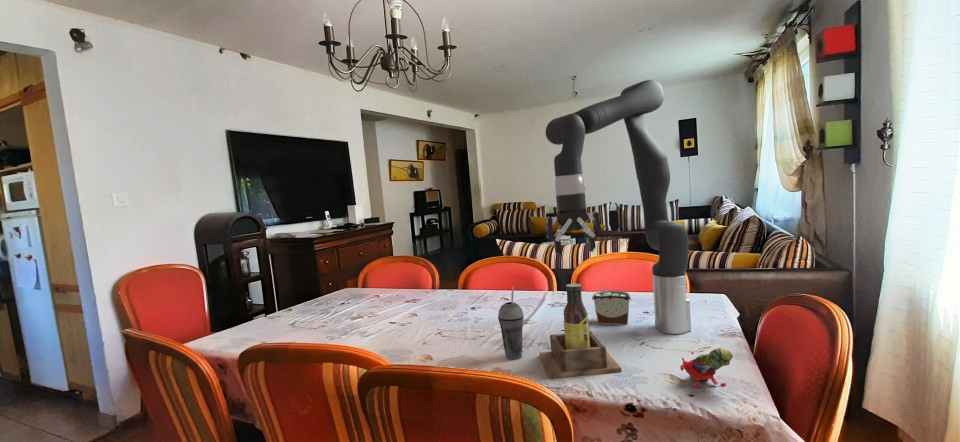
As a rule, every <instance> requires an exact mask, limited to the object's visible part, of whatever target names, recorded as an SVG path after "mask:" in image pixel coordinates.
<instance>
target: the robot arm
mask: <svg viewBox="0 0 960 442" xmlns="http://www.w3.org/2000/svg"><path fill="white" fill-rule="evenodd" d="M664 93H665V92H664V89H663V87H662V85H661V83H659V82H658V81H656V80H653V79H646V80H642V81H640V82H637V83H634V84H632V85H630V86H627V87H625V88H624V89H623V90H621V93H620V95H618V96H615V97H612V98H609V99H606V100H602V101H599V102H595V103H593V104H591V105H588V106H585V107H583V108H581V109H578V110H577V111H575V112H572V113H568V114H566V115H561V116H559V117H557V118H553V119H552V120H550V121H549V122H548V124H547V126H546V127H545V138H546V139H547V141H548V142H550V143H551V144H553V145H559V146H560V145H561V146H562V147H561V151H560V152H559V153H558V154H556V155H555V156H554V159H553V166H554V168H553V169H554V176H555V179H554V191H555V199H556V200H555V202H556V211H557V214H556V216H551V217H550V216H547V217H545V232H546V236H545V238H546V239H548V240H550V241H553V242H554V243H553V244H554V251H555V254H557V255H558V256H563V253H562V252H563V251H562V241H561V238H562V237H563V235H565V233H566V232H573V231H581V230H582V231H583V232H584V233H585V234H586V235H587V236H588V237H587V248H588V251H589V252H590V253H592V252H593V253H594V250H596V239H595V237H596V236H598V235H601V234H602V227H601V226H602V225H601V219H600V213H599V212H598V211H592V212H590V213H589V212H588V211H587V201H586V192H585V191H586V187H585V181H584V177H583V167H582V166H583V164H582V155H583V150H584V143H585V137H586V135H589V134H592V133H595V132H596V131H597V132H598V131H599V130H602V129H604V128H606V127H609V126H610V125H613V124H615V123H617V122H619V121H621V120H623V121H624V124H625V129H626V131H627V134H628V138H629V143H630V147H631V151H632V157H633V162H634V169H635V173H636V174H635V175H636V179H637V183H638V186H639V187H638V188H639V194H640V199H641V204H642V209H643V210H642V211H643V221H644V233H645V239H646V242H647V243H648V246H650V248H652V250H655V251H658V262H657V263H654V264H653V265H652V268H651V269H652V270H651V271H652V289H653V306H654V307H653V308H654V310H653V311H654V328H655V330H656V331H657V332H660V333H663V334H669V335H670V334H671V335H681V334H686V333H687V332H691V331H692V322H691V321H692V319H691V318H692V317H691V300H690V299H688V298H687V297H688V296H687V275H686V273H687V272H686V270H687V267H688V265H689V235H688V232H687V230H686V228H685V226H683V225H682V224H680V223H679V222H675V221H674V222H672V221H670V219H669V216H668V212H667V205H666V204H667V203H666V202H667V196H668V192H669V188H670V184H671V172H670V166H669V161H668V156H667V154H666V152H665V151H664V149H663V147H661V145H660V144H659V142H657V141H656V140H655V139H654V137H653V136H652V135H651V133H650V132H649V130H648V127H647V124H646V121H645V115H646V114H647V115H648V114H649V113H650V114H651V113H653V112H654V111H656V110H658V109H659V108H660V107H661V106H662V104H663V102H664V97H665V94H664ZM588 219H590V221H592V226H593V230H592V229H591V228H590V227H589V226H588V224H587V221H588ZM556 222H557V223H558V224H559V227H558V229H557V230H556V231H555V233H554V230H553V228H554V227H553V226H554V225H555V224H556ZM553 233H554V235H553Z"/></svg>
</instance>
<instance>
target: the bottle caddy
mask: <svg viewBox="0 0 960 442" xmlns="http://www.w3.org/2000/svg"><path fill="white" fill-rule="evenodd" d="M549 337H550V338H549V339H550V351H543V352H542V351H540V352H538V356H539V359H540V361H541V363H542V365H543V368H544V370H545V372H546V374H547V376H548V379H555V378H556V379H559V378H567V377H579V376H590V375H600V374H601V375H602V374H610V373H612V374H613V373H614V374H615V373H620V372H621V373H622V366H621V365H620V364H618V362H617V361H616V360H615V359H614V358H613V356H612V355H611V354H610V353H609V352H608V351H607V348H606V346H605V345H604V344H603V343H602V342H601V340H599V338H597V336H596V335H595V334H594V333H593V331H592V330H591V331H590V330H589V341H590V348H580V349H569V350H566V345H565V333H557V334H550V335H549Z"/></svg>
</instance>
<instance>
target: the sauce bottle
mask: <svg viewBox="0 0 960 442" xmlns="http://www.w3.org/2000/svg"><path fill="white" fill-rule="evenodd" d="M582 291H583V289H582V284H580V283H568V284H565V293H566V302H567V303H566V305H565V306H564V309H563V329H564V334H565V345H566V350H569V349H580V348H590V341H589V331H590V327H589V315H588V312H587V309H586V307H585V305H584V302H583V299H582Z"/></svg>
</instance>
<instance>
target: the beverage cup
mask: <svg viewBox="0 0 960 442" xmlns="http://www.w3.org/2000/svg"><path fill="white" fill-rule="evenodd" d="M514 288H515V287H514V286H513V285H512V286H511V298H510V299H511V301H507V302H505V303H503V304H502V305H501V306H500V308H499V310H498V315H497V316H498V317H497V319H498V322H499V326H500V331H501V337H502V343H503V349H504V354H505V359H507V360H510V361H517V360H520V359H522V357H523V324H524V317H525V315H524V312H523V310H522V307H521V306H520V305H519V304H517V302H514V290H515V289H514Z"/></svg>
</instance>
